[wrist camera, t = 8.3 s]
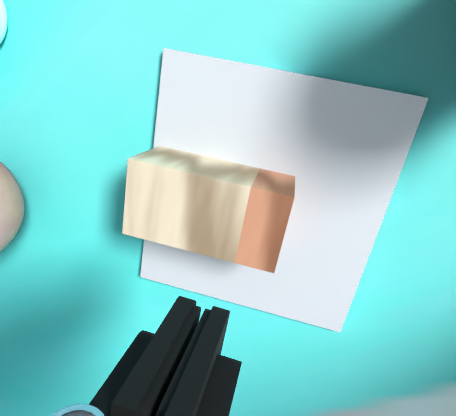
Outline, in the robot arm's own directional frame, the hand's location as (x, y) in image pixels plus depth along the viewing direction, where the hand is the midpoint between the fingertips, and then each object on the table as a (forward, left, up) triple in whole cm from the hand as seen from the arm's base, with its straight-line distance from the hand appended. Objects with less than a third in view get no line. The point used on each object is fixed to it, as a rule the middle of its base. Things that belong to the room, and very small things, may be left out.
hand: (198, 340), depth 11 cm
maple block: (-2, 0, -13) cm, 13 cm away
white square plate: (0, 0, -16) cm, 16 cm away
